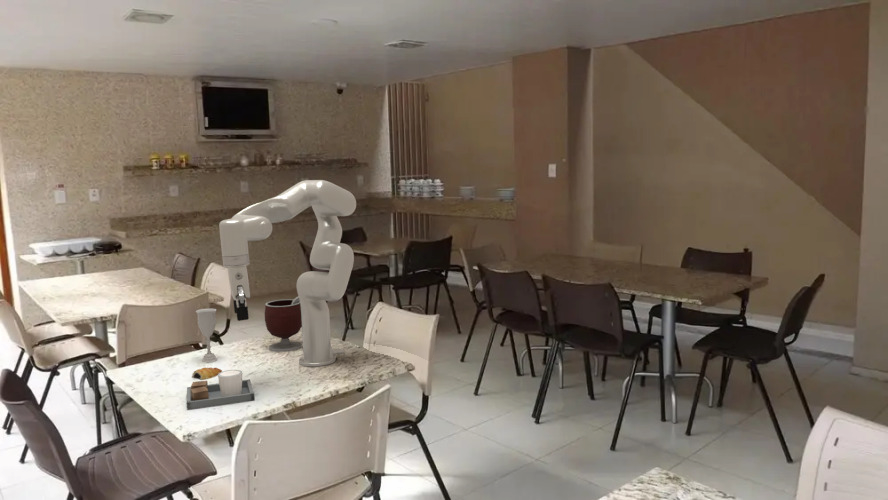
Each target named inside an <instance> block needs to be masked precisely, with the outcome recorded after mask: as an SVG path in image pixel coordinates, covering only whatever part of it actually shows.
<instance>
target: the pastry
mask: <svg viewBox="0 0 888 500" xmlns="http://www.w3.org/2000/svg"><path fill="white" fill-rule="evenodd" d="M220 372H223V369H220V368H218V367H202V368H201V369H200V368H199V369H196V370H194V371H193V372H192V375H191V378H193V379H200V381H206V380H209V379H212V378H215V377H218V374H219V373H220Z"/></svg>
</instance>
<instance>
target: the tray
mask: <svg viewBox="0 0 888 500" xmlns="http://www.w3.org/2000/svg"><path fill="white" fill-rule="evenodd" d="M208 394H209V399H203V400H196V401H192V400H191V386H189V387H188V386H187V387H186V411H190V410H196V409H203V408H212V407H219V406H226V405H233V404H240V403H247V402H253V401H255V392H254V387H253V385H252V381H251V379H242V394H239V395H232V396H225V397H221V391H220V385H219V382H217V383H211V384H208Z"/></svg>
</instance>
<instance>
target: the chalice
mask: <svg viewBox="0 0 888 500" xmlns="http://www.w3.org/2000/svg"><path fill="white" fill-rule="evenodd" d="M195 313H196V314H197V326H198V328H199V330H200V332H201V333H202V335H203V336H204V337H206V341H205V343H206V349H207V351H206V353H204V355H203V358H202V360H201V361H202V362H201V363H213V362H216V361H218V358H217V357H216V355H215V353H213V352H212V351H211V348H212V346H211V342H212V341H211V339H210V337H212V336H213V334H214V331H215V328H216V324H217V317H216V313H217V308H200V309H197V310H195Z"/></svg>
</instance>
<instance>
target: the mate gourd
mask: <svg viewBox="0 0 888 500" xmlns="http://www.w3.org/2000/svg"><path fill="white" fill-rule="evenodd" d="M264 323H265V327H266V330H267V332H269V334H271V336H273V337H276V338H280V342H276V343H272V344H270V345H269V346H268V350H269V351H271V352H277V353H280V352H281V353H283V352H291V351H296V350H299V349H301V348H303V342H300V341H295V340H294V341H293V340H292V341H291V340H290V337H292V336H293V337H294V336H295V335H297V334H299V332H300V330H302V321H301V306H300V300H299V296H296V297H295V298H294V299H287V298H286V299H277V300H276V299H275V300H272V301H271V300H270V301H267V302H266V303H265V307H264Z"/></svg>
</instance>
